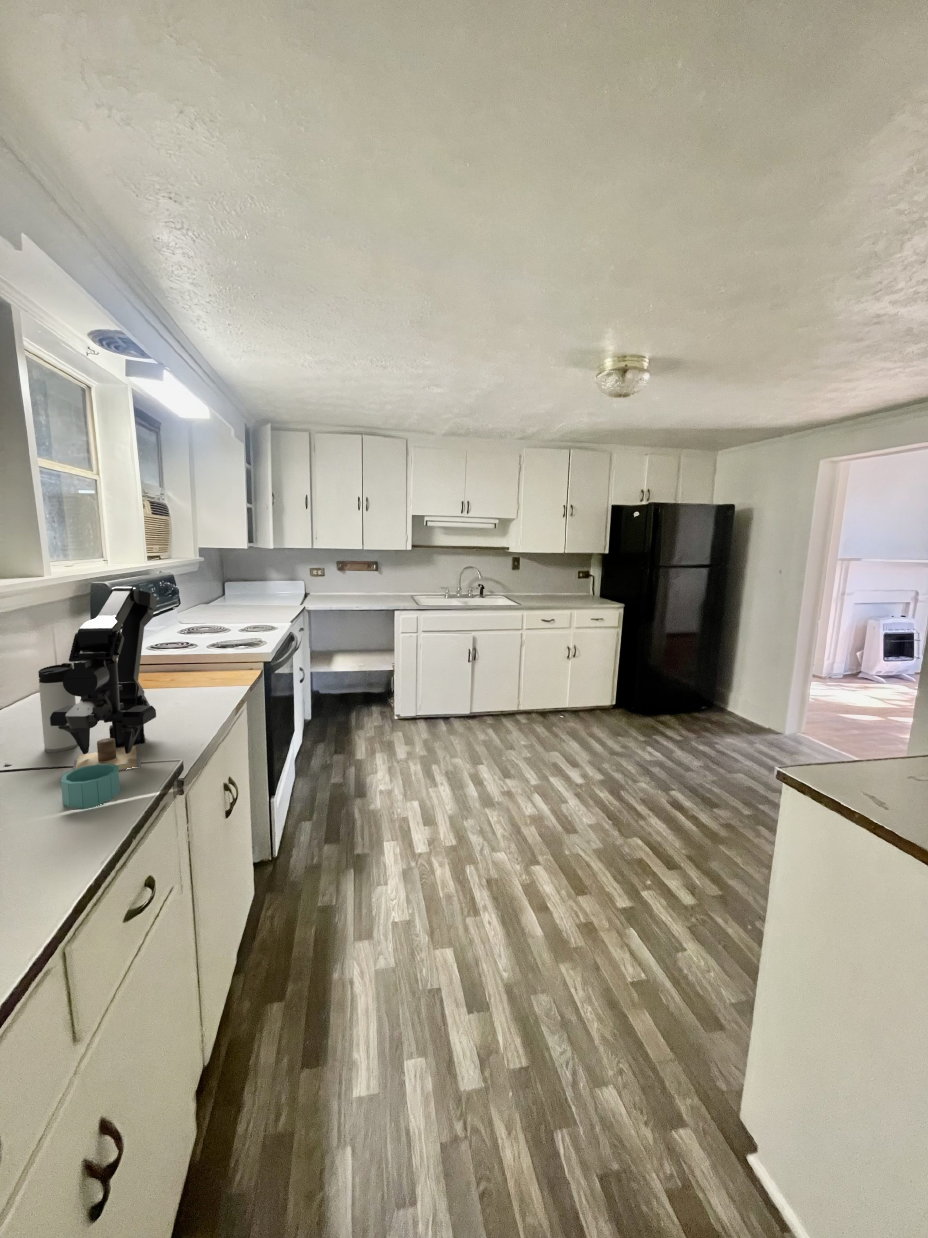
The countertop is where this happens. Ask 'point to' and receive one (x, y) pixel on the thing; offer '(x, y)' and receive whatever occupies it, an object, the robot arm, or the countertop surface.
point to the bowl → (90, 785)
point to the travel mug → (55, 706)
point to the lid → (108, 756)
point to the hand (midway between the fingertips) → (106, 753)
